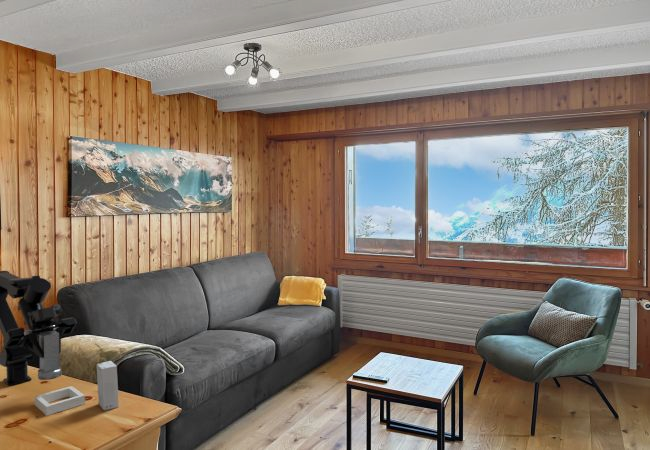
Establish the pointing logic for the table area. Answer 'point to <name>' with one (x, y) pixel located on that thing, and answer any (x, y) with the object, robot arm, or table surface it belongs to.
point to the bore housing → (49, 409)
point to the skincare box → (107, 385)
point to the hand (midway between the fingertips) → (51, 355)
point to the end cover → (49, 355)
